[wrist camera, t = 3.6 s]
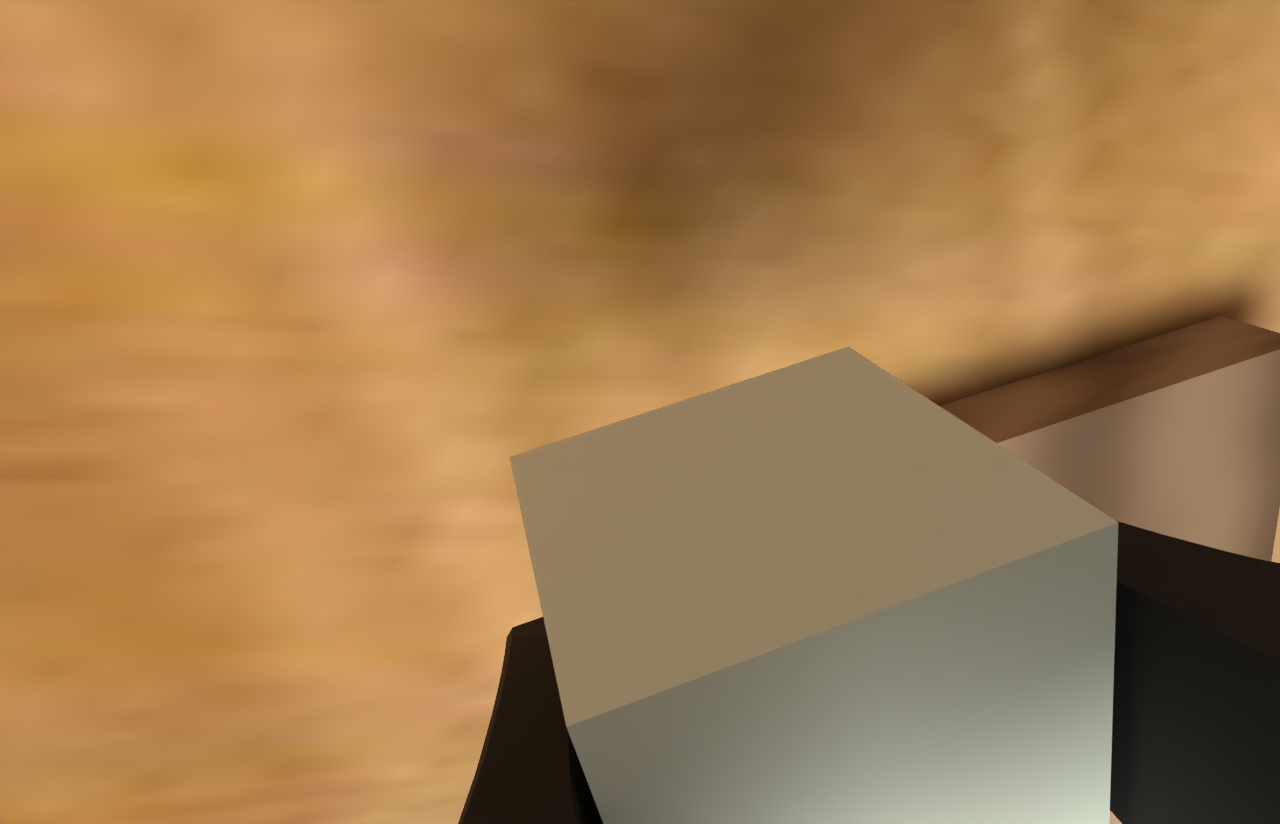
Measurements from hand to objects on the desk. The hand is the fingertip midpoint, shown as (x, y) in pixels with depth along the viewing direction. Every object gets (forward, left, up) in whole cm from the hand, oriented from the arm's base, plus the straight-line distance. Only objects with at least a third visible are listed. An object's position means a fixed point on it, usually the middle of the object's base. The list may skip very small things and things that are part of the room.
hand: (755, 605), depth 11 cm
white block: (0, 0, -2) cm, 2 cm away
